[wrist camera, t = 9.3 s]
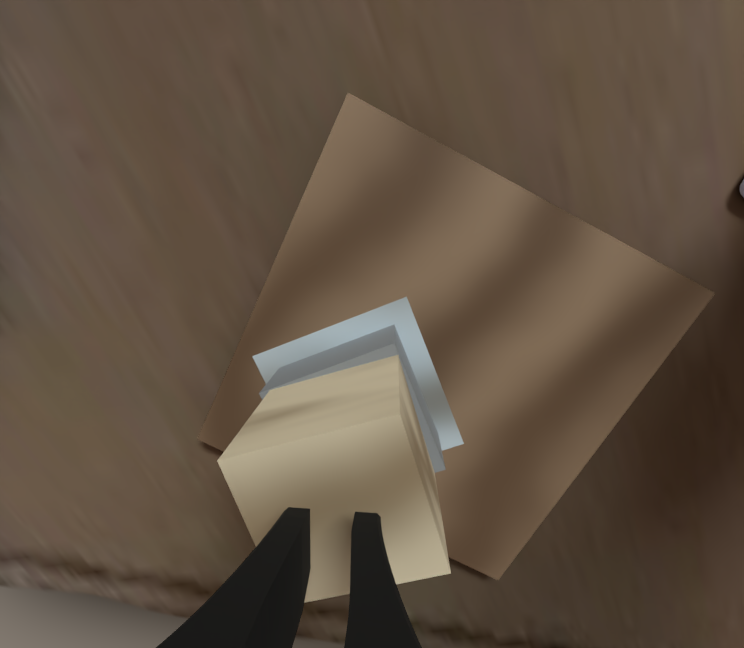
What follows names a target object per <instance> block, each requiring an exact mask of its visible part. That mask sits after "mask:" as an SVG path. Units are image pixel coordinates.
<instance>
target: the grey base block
mask: <svg viewBox="0 0 744 648" xmlns="http://www.w3.org/2000/svg"><path fill="white" fill-rule="evenodd" d="M395 355H398V356H399V359H400V362H401V366H402V369H403V372H404V375H405V378H406V382H407V385H408V388H409V391H410V395H411V398H412V401H413V404H414V408H415V411H416V414H417V417H418V420H419V424H420V427H421V430H422V433H423V437H424V440H425V443H426V446H427V450H428V453H429V456H430V459H431V462H432V466H433V469H434V472H435V473H436V472H439V471H443V470H446V468H445V463H444V459H443V454H442V449H441V444H440V440H439V435H438V432H437V429H436V427H435V424H434V422H433V419H432V417H431V414H430V412H429V409H428V407H427V404H426V402H425V399H424V397H423V394H422V392H421V389H420V387H419V384H418V382H417V380H416V377H415V375H414V372H413V370H412V367H411V365H410V362H409V360H408V357H407V355H406V352H405V350H404V347H403V345H402V342H401V340H400V337H399V335H398V332H397V330H396V327H395V325H391V326H388V327H386V328H383V329H380V330H378V331H375V332H372V333H370V334H367V335H365V336H362V337H359V338H357V339H354V340H351V341H349V342H346V343H343V344H341V345H338V346H335V347H333V348H330V349H327V350H325V351H322V352H320V353H317V354H314V355H312V356H309V357H306V358H304V359H301V360H298V361H296V362H293V363H290V364H288V365H285V366H282V367H280V368H279V369H278V370H277V371H276V373H275V374H274V375H273V376H272V378H271V379H270V380H269V381H268V383H267V384H266V385H265V386H264V388H263V389H262V390H261V391H260V393H259V394H260V396H261V398H262V400H263V399H264V397H265V396H266V395H267V393H268V392H269V391H270V390H272V389H276V388H279V387H283V386H287V385H290V384H294V383H297V382H301V381H305V380H308V379H312V378H316V377H319V376H323V375H326V374H330V373H334V372H337V371H341V370H345V369H348V368H352V367H355V366H359V365H363V364H366V363H370V362H374V361H377V360H381V359H384V358H388V357H392V356H395Z"/></svg>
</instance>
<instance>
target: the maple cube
mask: <svg viewBox="0 0 744 648" xmlns="http://www.w3.org/2000/svg"><path fill="white" fill-rule="evenodd" d="M217 461H218V463H219V466H220V468H221V470H222V472H223V475H224V477H225V479H226V481H227V483H228V486H229V488H230V490H231V492H232V495H233V497H234V499H235V501H236V504H237V506H238V508H239V510H240V512H241V515H242V517H243V519H244V521H245V524H246V526H247V528H248V530H249V532H250V535H251V537H252V539H253V541H254V544H255V546H257V545H258V544H259V543H260V542H261V540H262V539H263V538H264V537H265V535H266V534H267V533H268V532H269V530H270V529H271V528H272V526H273V525H274V524H275V523H276V521H277V520H278V519H279V517H280V516H281V515H282V513H283V512H284V510H286V509H287V508H288V507H293V508H308V509H310V565H311V569H310V575H309V580H308V585H307V591H306V596H305V601H304V603H306V602H311V601H316V600H321V599H326V598H331V597H336V596H341V595H345V594H350V566H351V530H352V525H353V519H354V514H355V512H368V513H378V515H379V516H380V517H381V527H382V534H383V539H384V544H385V548H386V552H387V556H388V560H389V564H390V567H391V570H392V573H393V576H394V579H395V583H396V584H400V583H405V582H410V581H415V580H420V579H425V578H430V577H435V576H440V575H445V574H450V573H451V571H450V565H449V558H448V552H447V546H446V540H445V534H444V527H443V521H442V515H441V509H440V503H439V497H438V490H437V484H436V478H435V472H434V469H433V466H432V462H431V459H430V456H429V453H428V450H427V446H426V443H425V440H424V437H423V433H422V430H421V427H420V424H419V420H418V417H417V414H416V411H415V408H414V404H413V401H412V398H411V395H410V391H409V388H408V385H407V382H406V378H405V375H404V372H403V369H402V366H401V362H400V359H399V356H398V355H395V356H392V357H388V358H384V359H381V360H377V361H374V362H370V363H366V364H363V365H359V366H355V367H352V368H348V369H345V370H341V371H337V372H334V373H330V374H326V375H323V376H319V377H316V378H312V379H308V380H305V381H301V382H297V383H294V384H290V385H287V386H283V387H279V388H276V389H272V390H270V391H269V392H268V393H267V395H266V396H265V397H264V399H263V400H262V401H261V403H260V404H259V405H258V407H257V408H256V409H255V411H254V412H253V413H252V415H251V416H250V417H249V419H248V420H247V421H246V423H245V424H244V426H243V427H242V428H241V430H240V431H239V432H238V434H237V435H236V436H235V438H234V439H233V440H232V442H231V443H230V444H229V446H228V447H227V448H226V450H225V451H224V452H223V454H222V455H221V456H220V458H219V459H218V460H217Z"/></svg>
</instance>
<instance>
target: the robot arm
mask: <svg viewBox="0 0 744 648" xmlns="http://www.w3.org/2000/svg"><path fill="white" fill-rule="evenodd" d="M740 194H741V195H742V196H743V197H744V180H743V181H742V183H741V185H740ZM310 569H311V565H310V509H308V508H293V507H288V508H287V509H286V510H284V512H283V513H282V515H281V516H280V517H279V519H278V520H277V521H276V523H275V524H274V525H273V526H272V528H271V529H270V530H269V532H268V533H267V534H266V535H265V537H264V538H263V539H262V540H261V542H260V543H259V544H258V545H257V546H256V548H255V549H254V550H253V551H252V552H251V553H250V555H249V556H248V557H247V558H246V559H245V561H244V562H243V563H242V564H241V565H240V566H239V567H238V569H237V570H236V571H235V572H234V573H233V574H232V575H231V576H230V577H229V578H228V579H227V580H226V582H225V583H224V584H223V585H222V586H221V587H220V588H219V589H218V590H217V591H216V592H215V593H214V594H213V595H212V596H211V597H210V598H209V599H208V600H207V601H206V602H205V603H204V604H203V605H202V606H201V607H200V608H199V609H198V610H197V611H196V612H195V613H194V614H193V615H192V616H191V617H190V618H189V619H188V620H187V621H186V622H185V623H184V624H182V625H181V626H180V627H179V628H178V629H177V630H176V631H175V632H174V633H172V635H170V636H169V637H168V638H167V639H166V640H164V641H163V642H162V643H161V644H160V645H159V646H157V647H156V648H292V645H293V642H294V639H295V635H296V632H297V628H298V625H299V621H300V618H301V614H302V611H303V606H304V601H305V596H306V591H307V585H308V580H309V575H310ZM344 648H422V647H421V645H420V643H419V641H418V639H417V636H416V634H415V632H414V629H413V627H412V625H411V622H410V620H409V618H408V615H407V612H406V610H405V607H404V605H403V602H402V600H401V597H400V594H399V591H398V588H397V586H396V583H395V579H394V576H393V573H392V570H391V567H390V564H389V560H388V556H387V552H386V548H385V544H384V539H383V534H382V527H381V517H380V516H379V515H378V513H368V512H355V514H354V519H353V525H352V530H351V566H350V604H349V617H348V625H347V632H346V639H345V647H344Z"/></svg>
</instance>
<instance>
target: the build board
mask: <svg viewBox="0 0 744 648" xmlns="http://www.w3.org/2000/svg"><path fill="white" fill-rule="evenodd" d="M714 294H715V293H714V292H713V291H711V290H709V289H707V288H705V287H703V286H702V285H700V284H698V283H696V282H694V281H692V280H691V279H689V278H687V277H685V276H683V275H681V274H680V273H678V272H676V271H674V270H672V269H670V268H669V267H667V266H665V265H663V264H661V263H659V262H658V261H656V260H654V259H652V258H650V257H648V256H647V255H645V254H643V253H641V252H639V251H637V250H636V249H634V248H632V247H630V246H628V245H626V244H625V243H623V242H621V241H619V240H617V239H615V238H614V237H612V236H610V235H608V234H606V233H604V232H603V231H601V230H599V229H597V228H595V227H593V226H592V225H590V224H588V223H586V222H584V221H582V220H581V219H579V218H577V217H575V216H573V215H571V214H570V213H568V212H566V211H564V210H562V209H560V208H559V207H557V206H555V205H553V204H551V203H549V202H548V201H546V200H544V199H542V198H540V197H538V196H537V195H535V194H533V193H531V192H529V191H527V190H526V189H524V188H522V187H520V186H518V185H516V184H515V183H513V182H511V181H509V180H507V179H505V178H504V177H502V176H500V175H498V174H496V173H494V172H493V171H491V170H489V169H487V168H485V167H483V166H482V165H480V164H478V163H476V162H474V161H472V160H471V159H469V158H467V157H465V156H463V155H461V154H460V153H458V152H456V151H454V150H452V149H450V148H449V147H447V146H445V145H443V144H441V143H439V142H438V141H436V140H434V139H432V138H430V137H428V136H427V135H425V134H423V133H421V132H419V131H417V130H416V129H414V128H412V127H410V126H408V125H406V124H405V123H403V122H401V121H399V120H397V119H395V118H394V117H392V116H390V115H388V114H386V113H384V112H383V111H381V110H379V109H377V108H375V107H373V106H372V105H370V104H368V103H366V102H364V101H362V100H361V99H359V98H357V97H355V96H353V95H351V94H350V93H348V94H347V96H346V98H345V101H344V103H343V105H342V107H341V110H340V112H339V114H338V117H337V119H336V121H335V123H334V126H333V128H332V130H331V133H330V135H329V137H328V140H327V142H326V144H325V146H324V149H323V151H322V153H321V156H320V158H319V160H318V163H317V165H316V167H315V169H314V172H313V174H312V176H311V179H310V181H309V183H308V185H307V188H306V190H305V192H304V195H303V197H302V199H301V202H300V204H299V206H298V208H297V211H296V213H295V215H294V218H293V220H292V222H291V224H290V227H289V229H288V231H287V234H286V236H285V238H284V241H283V243H282V245H281V247H280V250H279V252H278V254H277V257H276V259H275V261H274V263H273V266H272V268H271V270H270V273H269V275H268V277H267V280H266V282H265V284H264V286H263V289H262V291H261V293H260V296H259V298H258V300H257V303H256V305H255V307H254V309H253V312H252V314H251V316H250V319H249V321H248V323H247V325H246V328H245V330H244V332H243V335H242V337H241V339H240V342H239V344H238V346H237V348H236V351H235V353H234V355H233V358H232V360H231V362H230V364H229V367H228V369H227V371H226V374H225V376H224V378H223V381H222V383H221V385H220V387H219V390H218V392H217V394H216V397H215V399H214V401H213V404H212V406H211V408H210V410H209V413H208V415H207V417H206V420H205V422H204V424H203V426H202V429H201V431H200V433H199V436H198V438H197V439H198V440H200V441H202V442H204V443H206V444H208V445H210V446H213V447H215V448H217V449H219V450H221V451H223V452H224V451H225V450H226V448H227V447H228V446H229V444H230V443H231V442H232V440H233V439H234V438H235V436H236V435H237V434H238V432H239V431H240V430H241V428H242V427H243V426H244V424H245V423H246V421H247V420H248V419H249V417H250V416H251V415H252V413H253V412H254V411H255V409H256V408H257V407H258V405H259V404H260V403H261V401H262V398H261V396H260V394H259V393H260V391H261V390H262V389H263V388H264V386H265V385H266V384H267V383H268V381H269V380H270V379H271V378H272V376H273V375H274V374H275V373H276V371H277V370H278V369H279V368H280V367H282V366H285V365H288V364H290V363H293V362H296V361H298V360H301V359H304V358H306V357H309V356H312V355H314V354H317V353H320V352H322V351H325V350H327V349H330V348H333V347H335V346H338V345H341V344H343V343H346V342H349V341H351V340H354V339H357V338H359V337H362V336H365V335H367V334H370V333H372V332H375V331H378V330H380V329H383V328H386V327H388V326H391V325H395V327H396V330H397V332H398V335H399V337H400V340H401V342H402V345H403V347H404V350H405V352H406V355H407V357H408V360H409V362H410V365H411V367H412V370H413V372H414V375H415V377H416V380H417V382H418V384H419V387H420V389H421V392H422V394H423V397H424V399H425V402H426V404H427V407H428V409H429V412H430V414H431V417H432V419H433V422H434V424H435V427H436V429H437V432H438V435H439V440H440V444H441V449H442V454H443V459H444V463H445V468H446V470H443V471H439V472H436V473H435V478H436V484H437V490H438V497H439V503H440V509H441V515H442V521H443V527H444V534H445V540H446V546H447V552H448V557H449V558H452V559H454V560H456V561H458V562H460V563H462V564H464V565H466V566H469V567H471V568H473V569H475V570H477V571H479V572H481V573H484V574H486V575H488V576H490V577H492V578H494V579H496V580H499V578H500V577H501V576H502V574H503V573H504V572H505V570H506V569H507V568H508V566H509V565H510V564H511V562H512V561H513V560H514V558H515V557H516V556H517V554H518V553H519V552H520V551H521V549H522V548H523V547H524V545H525V544H526V543H527V541H528V540H529V539H530V537H531V536H532V535H533V533H534V532H535V531H536V529H537V528H538V527H539V525H540V524H541V523H542V521H543V520H544V519H545V517H546V516H547V515H548V514H549V512H550V511H551V510H552V508H553V507H554V506H555V504H556V503H557V502H558V500H559V499H560V498H561V496H562V495H563V494H564V492H565V491H566V490H567V488H568V487H569V486H570V484H571V483H572V482H573V481H574V479H575V478H576V477H577V475H578V474H579V473H580V471H581V470H582V469H583V467H584V466H585V465H586V463H587V462H588V461H589V459H590V458H591V457H592V455H593V454H594V453H595V451H596V450H597V449H598V447H599V446H600V445H601V444H602V442H603V441H604V440H605V438H606V437H607V436H608V434H609V433H610V432H611V430H612V429H613V428H614V426H615V425H616V424H617V422H618V421H619V420H620V418H621V417H622V416H623V414H624V413H625V412H626V410H627V409H628V408H629V407H630V405H631V404H632V403H633V401H634V400H635V399H636V397H637V396H638V395H639V393H640V392H641V391H642V389H643V388H644V387H645V385H646V384H647V383H648V381H649V380H650V379H651V377H652V376H653V375H654V374H655V372H656V371H657V370H658V368H659V367H660V366H661V364H662V363H663V362H664V360H665V359H666V358H667V356H668V355H669V354H670V352H671V351H672V350H673V348H674V347H675V346H676V344H677V343H678V342H679V340H680V339H681V338H682V337H683V335H684V334H685V333H686V331H687V330H688V329H689V327H690V326H691V325H692V323H693V322H694V321H695V319H696V318H697V317H698V315H699V314H700V313H701V311H702V310H703V309H704V307H705V306H706V305H707V303H708V302H709V301H710V300H711V298H712V297H713V296H714Z"/></svg>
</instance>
